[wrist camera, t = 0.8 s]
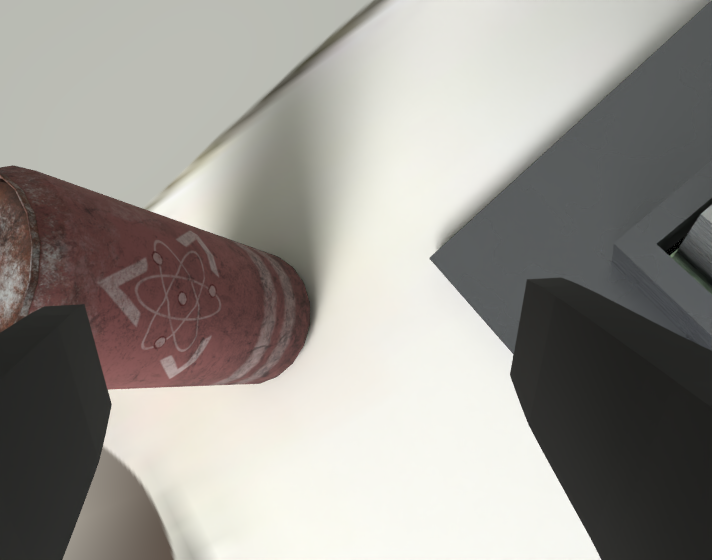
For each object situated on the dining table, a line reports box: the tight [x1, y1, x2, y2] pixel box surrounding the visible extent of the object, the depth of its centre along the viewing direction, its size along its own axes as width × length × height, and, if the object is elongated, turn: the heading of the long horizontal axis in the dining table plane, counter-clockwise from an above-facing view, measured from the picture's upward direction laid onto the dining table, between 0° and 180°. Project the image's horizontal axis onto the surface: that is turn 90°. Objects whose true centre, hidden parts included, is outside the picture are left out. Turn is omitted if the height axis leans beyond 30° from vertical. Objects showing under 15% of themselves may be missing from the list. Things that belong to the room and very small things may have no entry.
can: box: [0, 166, 310, 389], centre depth 21 cm, size 6×6×14 cm
